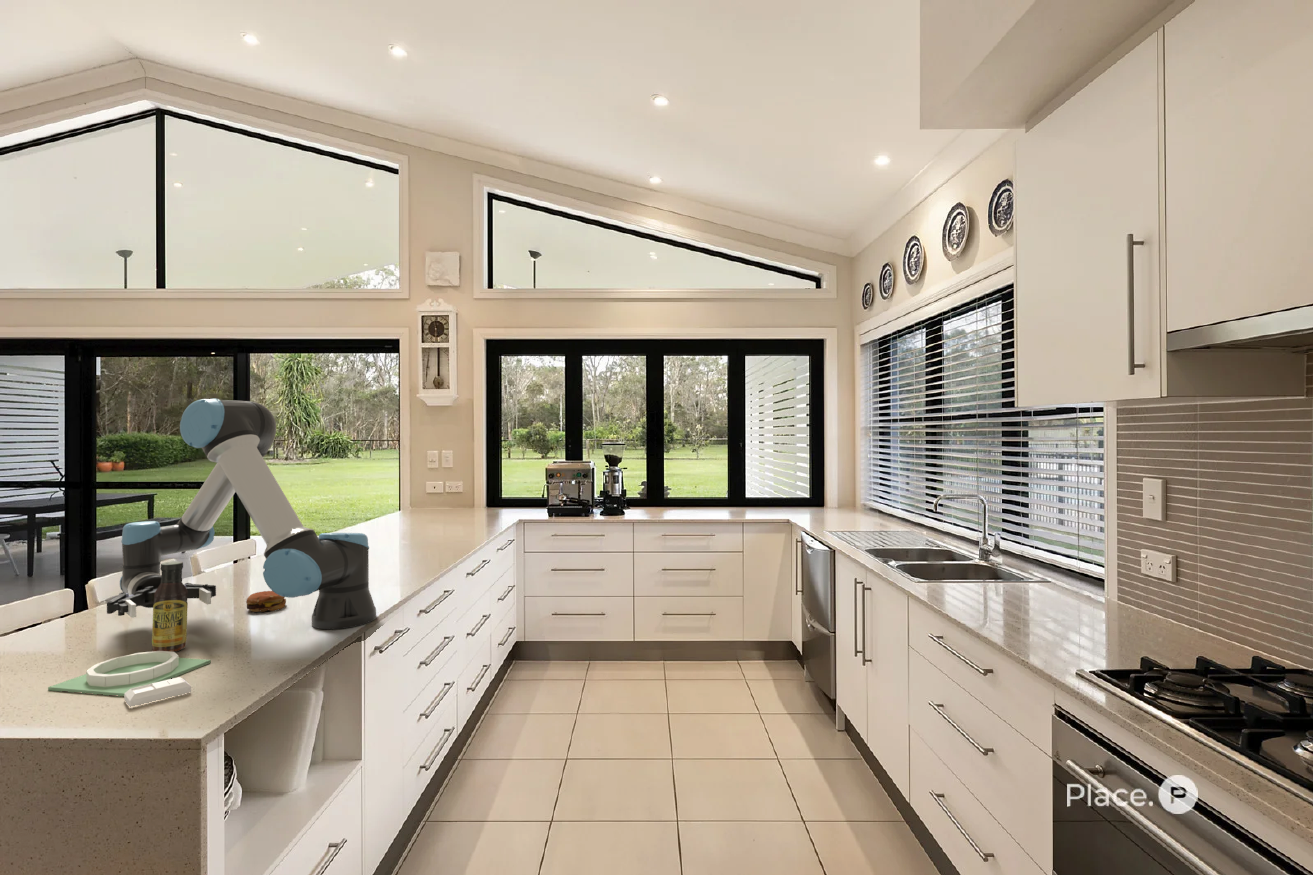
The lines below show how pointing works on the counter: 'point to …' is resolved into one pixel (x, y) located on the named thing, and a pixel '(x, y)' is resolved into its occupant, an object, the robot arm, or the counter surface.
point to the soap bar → (156, 691)
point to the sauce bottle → (170, 610)
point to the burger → (265, 601)
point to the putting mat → (124, 688)
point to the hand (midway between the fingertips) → (172, 604)
